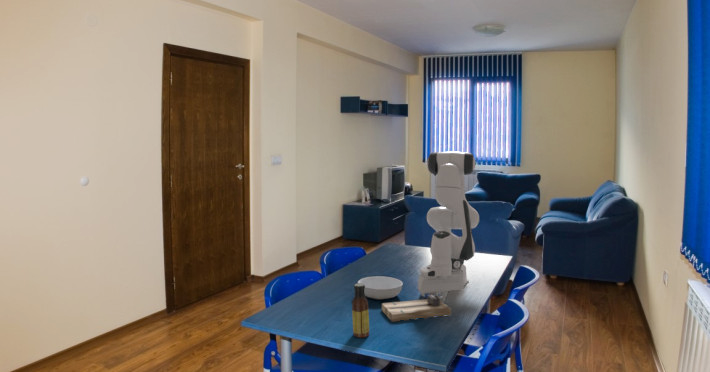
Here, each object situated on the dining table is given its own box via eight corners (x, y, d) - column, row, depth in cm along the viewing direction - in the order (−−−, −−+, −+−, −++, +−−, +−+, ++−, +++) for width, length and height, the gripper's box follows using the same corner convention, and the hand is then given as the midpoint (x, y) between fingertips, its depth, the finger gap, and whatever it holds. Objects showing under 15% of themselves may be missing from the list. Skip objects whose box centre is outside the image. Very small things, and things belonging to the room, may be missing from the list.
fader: (427, 301, 225) (427, 294, 224) (433, 301, 225) (433, 294, 225) (432, 306, 219) (432, 299, 219) (439, 305, 220) (439, 298, 219)
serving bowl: (399, 305, 230) (400, 290, 230) (353, 302, 235) (353, 287, 234) (404, 291, 251) (405, 277, 250) (362, 288, 255) (362, 274, 254)
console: (381, 310, 224) (381, 303, 224) (437, 304, 231) (437, 298, 230) (392, 321, 211) (392, 314, 210) (451, 315, 217) (451, 308, 217)
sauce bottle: (368, 331, 200) (368, 281, 198) (369, 338, 194) (369, 286, 192) (351, 332, 200) (351, 282, 198) (352, 338, 194) (352, 287, 192)
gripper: (460, 266, 227) (459, 296, 229) (416, 269, 222) (416, 300, 223) (466, 269, 221) (466, 301, 222) (422, 273, 216) (421, 305, 217)
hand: (440, 301), depth 223 cm, fingers closed
